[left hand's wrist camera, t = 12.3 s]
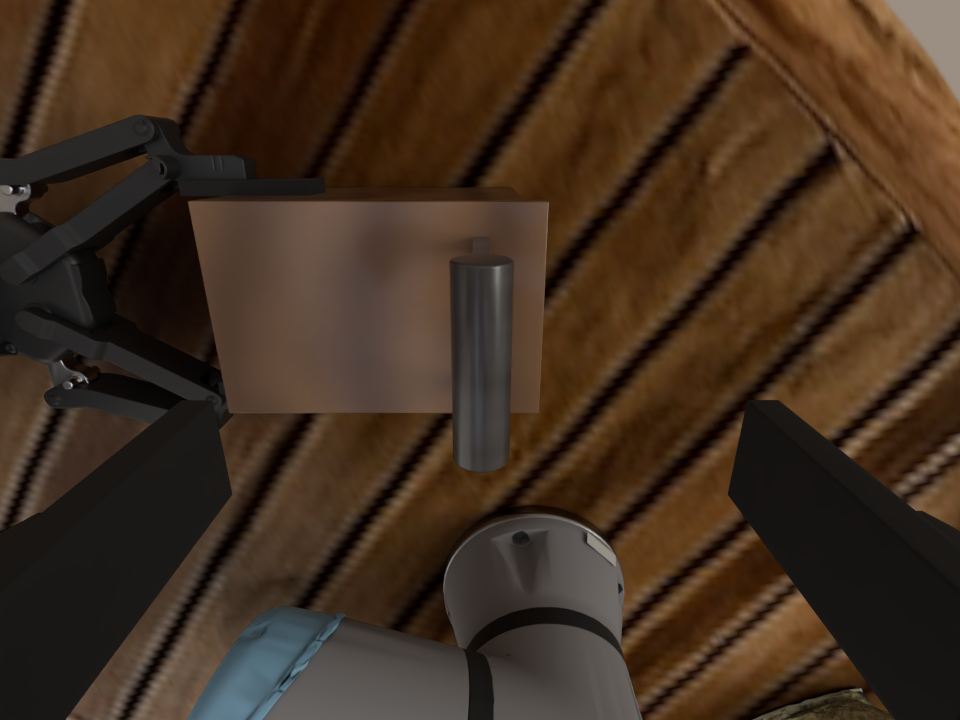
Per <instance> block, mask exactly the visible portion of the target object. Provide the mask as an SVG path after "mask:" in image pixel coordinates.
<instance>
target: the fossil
mask: <svg viewBox="0 0 960 720" xmlns="http://www.w3.org/2000/svg"><path fill="white" fill-rule="evenodd" d="M753 720H894V718H893V717H892V715H891V714H890V713H888V712H885V711H882V710H880V709H877V708H875V707H874V706H873V705H872V704H871V703H870V702H869V701H868V700H867V699H866V697H865V696H864V694H863V691H862V689H861V688H860V689H850V690H843V691H840V692H837V693H832V694H828V695H824V696H821V697H817V698H814V699H809V700H805V701H803V702H802V703H800V704H795V705H789V706H786V707H783V708H780V709H778V710H775V711H772V712H770V713H767V714H764V715H762V716H760V717H758V718H756V719H753Z"/></svg>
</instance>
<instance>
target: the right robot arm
mask: <svg viewBox="0 0 960 720" xmlns="http://www.w3.org/2000/svg"><path fill="white" fill-rule="evenodd" d="M180 137H181V131H180V128H179V126H178V125H177V123H176V122H174V121H173V120H171V119H167V118H159V117H152V116H144V115H135V116H132V117H129V118H126V119H124V120H121V121H118V122H115V123H113V124H110V125H107V126H104V127H102V128H99V129H96V130H93V131H91V132H88V133H85V134H82V135H80V136H77V137H74V138H71V139H69V140H66V141H63V142H60V143H58V144H55V145H52V146H49V147H47V148H44V149H41V150H38V151H36V152H33V153H30V154H27V155H25V156H22V157H19V158H16V159H8V158H0V356H11V355H22V356H26V357H29V358H32V359H34V360H36V361H38V362H41V363H45V364H46V366H47V369H48V372H49V374H50V377H51V379H52V382H53V385H54V388H52V389H50V390H48V391H47V392H46V393H45V395H44V398H45V401H46V402H47V404H48V405H50V406H51V407H53V408H78V407H88V408H92V409H96V410H100V411H104V412H108V413H112V414H116V415H119V416H123V417H127V418H131V419H135V420H139V421H143V422H147V423H151V424H153V423H154V422H155V421H156V420H158V419H159V418H160V417H161V416H163V415H164V414H165V413H166V412H168V411H169V410H170V409H171V408H173V407H174V406H175V405H176V404H178V403H179V402H180V401H181V400H213V404H214V409H215V414H216V419H217V423H218V428H219V430H220V429H221V428H222V427H223V426H224V425H225V423H226V422H227V421H228V420H229V419H230V418H231V417H232V416H233V414H234V413H229V410H228V405H227V400H226V395H225V390H224V384H223V379H222V374H221V371H220V370H218V369H216V368H214V367H212V366H210V365H208V364H206V363H204V362H202V361H200V360H198V359H196V358H194V357H192V356H190V355H188V354H186V353H184V352H182V351H180V350H178V349H176V348H174V347H172V346H170V345H168V344H166V343H164V342H162V341H160V340H158V339H156V338H154V337H152V336H150V335H148V334H146V333H144V332H142V331H140V330H138V329H137V327H136V324H135V323H133V322H132V321H130V320H128V319H126V318H124V317H122V316H119V315H117V314H115V313H113V312H116V311H117V310H116V306H115V302H114V298H113V297H112V295H111V293H110V291H109V289H108V287H107V285H106V268H105V264H104V260H103V258H97V256H96V254H95V252H97V251H98V250H100V249H101V248H102V247H104V246H105V245H107V244H108V243H109V242H111V241H112V240H113V239H114V236H115V235H117V234H118V233H119V232H121V231H122V230H124V229H125V228H126V227H128V226H129V225H131V224H132V223H133V222H135V221H136V220H138V219H139V218H140V217H142V216H143V215H145V214H146V213H147V212H149V211H150V210H152V209H153V208H154V207H156V206H157V205H159V204H160V203H161V202H163V201H164V200H166V199H167V198H168V197H170V196H171V195H173V194H174V193H175V192H177V191H178V190H179V192H180V196H228V195H315V194H320V193H324V192H325V185H324V178H257V174H256V168H255V161H254V159H252V158H249V157H247V156H244V155H195V154H192V153H191V152H189V151H188V150H187V149H186V148H185V146H184V144H183V143H182V141H181V139H180ZM145 153H148V154H149V155H148V156H146V159H151V160H150V161H148V162H147V163H145V164H144V165H143V166H141V167H140V168H139V169H137V170H136V171H135V172H133V173H132V174H131V175H129V176H128V177H127V178H125V179H124V180H122V181H121V182H120V183H118V184H117V185H116V186H114V187H113V188H112V189H110V190H109V191H108V192H106V193H105V194H104V195H102V196H101V197H99V198H98V199H97V200H95V201H94V202H93V203H91V204H90V205H89V206H87V207H86V208H85V209H83V210H82V211H81V212H79V213H78V214H76V215H75V216H74V217H72V218H71V219H70V220H68V221H67V222H65V223H63V224H61V225H58V226H54V225H52V224H51V223H49V222H47V221H46V220H44V219H42V218H41V217H39V216H38V215H36V214H34V213H32V212H29V204H30V203H31V202H32V201H33V200H37V199H40V198H41V197H42V196H43V194H44V193H46V192H47V191H48V186H47V184H52V183H61V182H65V181H69V180H72V179H75V178H78V177H80V176H83V175H86V174H89V173H92V172H94V171H97V170H100V169H103V168H106V167H109V166H111V165H114V164H117V163H120V162H123V161H125V160H128V159H131V158H134V157H137V156H140V155H142V154H145ZM101 331H102V332H101ZM75 353H78V354H80V355H83V356H85V357H87V358H89V359H94V360H106V361H108V362H110V363H112V364H114V365H116V366H119V367H121V368H123V369H125V370H127V371H129V372H131V373H133V374H135V375H137V376H139V377H141V378H144V379H146V380H148V381H150V382H152V383H150V382H146V381H142V380H138V379H135V378H131V377H127V376H123V375H118V374H113V373H100V369H99V368H98V367H97V366H92V367H89V366H85V365H81V364H79V363H78V362H76V360H75V359H74V357H73V355H74V354H75Z"/></svg>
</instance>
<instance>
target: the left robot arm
mask: <svg viewBox="0 0 960 720" xmlns="http://www.w3.org/2000/svg"><path fill="white" fill-rule="evenodd" d="M231 495H232V491H231V486H230V481H229V476H228V472H227V467H226V462H225V457H224V452H223V448H222V443H221V438H220V433H219V428H218V423H217V419H216V414H215V409H214V404H213V400H181V401H180V402H179V403H178V404H176V405H175V406H174V407H173V408H171V409H170V410H169V411H168V412H166V413H165V414H164V415H163V416H161V417H160V418H159V419H158V420H156V421H155V422H154V423H153V424H151V425H150V426H149V427H148V428H146V429H145V430H144V431H143V432H142V433H140V434H139V435H138V436H137V437H135V438H134V439H133V440H132V441H130V442H129V443H128V444H127V445H125V446H124V447H123V448H122V449H120V450H119V451H118V452H117V453H115V454H114V455H113V456H112V457H110V458H109V459H108V460H107V461H106V462H104V463H103V464H102V465H101V466H99V467H98V468H97V469H96V470H94V471H93V472H92V473H91V474H89V475H88V476H87V477H86V478H84V479H83V480H82V481H81V482H79V483H78V484H77V485H76V486H74V487H73V488H72V489H71V490H70V491H68V492H67V493H66V494H65V495H63V496H62V497H61V498H60V499H58V500H57V501H56V502H55V503H53V504H52V505H51V506H50V507H48V508H47V509H46V510H45V511H43V512H42V513H37V514H35V515H33V516H31V517H30V518H28V519H26V520H24V521H22V522H20V523H18V524H16V525H15V526H13V527H11V528H9V529H7V530H5V531H4V532H2V533H1V534H0V720H66V718H67V717H68V715H69V714H70V713H71V711H72V710H73V709H74V707H75V706H76V705H77V703H78V702H79V701H80V699H81V698H82V697H83V695H84V694H85V693H86V691H87V690H88V688H89V687H90V686H91V684H92V683H93V682H94V680H95V679H96V678H97V676H98V675H99V674H100V672H101V671H102V670H103V668H104V667H105V666H106V664H107V663H108V661H109V660H110V659H111V657H112V656H113V655H114V653H115V652H116V651H117V649H118V648H119V647H120V645H121V644H122V643H123V641H124V640H125V639H126V637H127V636H128V634H129V633H130V632H131V630H132V629H133V628H134V626H135V625H136V624H137V622H138V621H139V620H140V618H141V617H142V616H143V614H144V613H145V611H146V610H147V609H148V607H149V606H150V605H151V603H152V602H153V601H154V599H155V598H156V597H157V595H158V594H159V593H160V591H161V590H162V589H163V587H164V586H165V584H166V583H167V582H168V580H169V579H170V578H171V576H172V575H173V574H174V572H175V571H176V570H177V568H178V567H179V566H180V564H181V563H182V562H183V560H184V559H185V557H186V556H187V555H188V553H189V552H190V551H191V549H192V548H193V547H194V545H195V544H196V543H197V541H198V540H199V539H200V537H201V536H202V535H203V533H204V532H205V530H206V529H207V528H208V526H209V525H210V524H211V522H212V521H213V520H214V518H215V517H216V516H217V514H218V513H219V512H220V510H221V509H222V508H223V506H224V505H225V503H226V502H227V501H228V499H229V498H230V497H231ZM728 495H729V497H730V498H731V499H732V501H733V502H734V503H735V505H736V506H737V508H738V509H739V510H740V512H741V513H742V514H743V516H744V517H745V518H746V520H747V521H748V522H749V524H750V525H751V526H752V528H753V529H754V530H755V532H756V533H757V535H758V536H759V537H760V539H761V540H762V541H763V543H764V544H765V545H766V547H767V548H768V549H769V551H770V552H771V553H772V555H773V556H774V557H775V559H776V560H777V562H778V563H779V564H780V566H781V567H782V568H783V570H784V571H785V572H786V574H787V575H788V576H789V578H790V579H791V580H792V582H793V583H794V584H795V586H796V587H797V589H798V590H799V591H800V593H801V594H802V595H803V597H804V598H805V599H806V601H807V602H808V603H809V605H810V606H811V607H812V609H813V610H814V611H815V613H816V614H817V616H818V617H819V618H820V620H821V621H822V622H823V624H824V625H825V626H826V628H827V629H828V630H829V632H830V633H831V634H832V636H833V637H834V639H835V640H836V641H837V643H838V644H839V645H840V647H841V648H842V649H843V651H844V652H845V653H846V655H847V656H848V657H849V659H850V660H851V661H852V663H853V664H854V666H855V667H856V668H857V670H858V671H859V672H860V674H861V675H862V676H863V678H864V679H865V680H866V682H867V683H868V684H869V686H870V687H871V688H872V690H873V691H874V693H875V694H876V695H877V697H878V698H879V699H880V701H881V702H882V703H883V705H884V706H885V707H886V709H887V710H888V711H889V713H890V714H891V715H892V717H893V718H894V720H960V531H958V530H957V529H955V528H953V527H952V526H950V525H948V524H946V523H944V522H942V521H940V520H938V519H936V518H935V517H933V516H931V515H929V514H927V513H925V512H923V511H915V510H914V509H913V508H912V507H910V506H909V505H908V504H907V503H905V502H904V501H903V500H902V499H900V498H899V497H898V496H897V495H895V494H894V493H893V492H892V491H890V490H889V489H888V488H887V487H886V486H884V485H883V484H882V483H881V482H879V481H878V480H877V479H876V478H874V477H873V476H872V475H871V474H869V473H868V472H867V471H866V470H864V469H863V468H862V467H861V466H859V465H858V464H857V463H856V462H854V461H853V460H852V459H851V458H850V457H848V456H847V455H846V454H845V453H843V452H842V451H841V450H840V449H838V448H837V447H836V446H835V445H833V444H832V443H831V442H830V441H828V440H827V439H826V438H825V437H823V436H822V435H821V434H820V433H818V432H817V431H816V430H815V429H814V428H812V427H811V426H810V425H809V424H807V423H806V422H805V421H804V420H802V419H801V418H800V417H799V416H797V415H796V414H795V413H794V412H792V411H791V410H790V409H789V408H787V407H786V406H785V405H784V404H782V403H781V402H780V401H779V400H747V404H746V409H745V414H744V419H743V423H742V428H741V433H740V438H739V443H738V448H737V452H736V457H735V462H734V467H733V472H732V476H731V481H730V486H729V491H728ZM443 591H444V601H445V607H446V611H447V614H448V617H449V619H450V622H451V624H452V626H453V629H454V633H455V636H456V640H457V643H458V647H457V646H453V645H449V644H445V643H441V642H437V641H434V640H430V639H426V638H422V637H418V636H414V635H410V634H406V633H402V632H399V631H395V630H391V629H387V628H383V627H379V626H375V625H371V624H368V623H364V622H360V621H356V620H352V619H348V618H345V616H346V614H344V613H340V612H339V613H337V614H335V615H332V614H327V613H322V612H317V611H312V610H307V609H302V608H297V607H292V606H280V607H275V608H272V609H269V610H267V611H265V612H264V613H262V614H261V615H259V616H258V617H257V618H256V619H254V620H253V621H252V622H251V623H250V624H249V625H248V627H247V628H246V629H245V630H244V631H243V632H242V634H241V635H240V636H239V638H238V639H237V640H236V642H235V643H234V644H233V646H232V647H231V649H230V650H229V652H228V653H227V655H226V656H225V658H224V659H223V661H222V662H221V664H220V665H219V667H218V668H217V670H216V672H215V673H214V675H213V676H212V678H211V679H210V681H209V683H208V684H207V686H206V688H205V689H204V691H203V693H202V694H201V696H200V698H199V700H198V701H197V703H196V705H195V706H194V708H193V710H192V711H191V713H190V715H189V717H188V718H187V720H642V717H641V714H640V710H639V707H638V704H637V700H636V697H635V694H634V690H633V687H632V684H631V680H630V677H629V673H628V670H627V667H626V664H625V660H624V657H623V653H622V649H621V632H622V607H623V602H624V583H623V575H622V570H621V567H620V564H619V561H618V558H617V555H616V552H615V550H614V548H613V546H612V544H611V543H610V541H609V540H608V538H607V537H606V536H605V535H604V534H603V533H602V532H601V531H600V530H599V529H598V528H597V527H596V526H594V525H593V524H592V523H590V522H589V521H587V520H586V519H584V518H582V517H580V516H578V515H575V514H573V513H570V512H567V511H564V510H560V509H555V508H548V507H522V508H515V509H510V510H506V511H503V512H499V513H497V514H494V515H492V516H489V517H487V518H485V519H483V520H482V521H480V522H478V523H477V524H475V525H474V526H473V527H471V528H470V529H469V530H468V531H467V532H465V533H464V534H463V535H462V536H461V538H460V539H459V540H458V541H457V542H456V544H455V545H454V547H453V549H452V550H451V552H450V554H449V557H448V559H447V563H446V566H445V573H444V588H443Z"/></svg>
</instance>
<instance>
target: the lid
mask: <svg viewBox="0 0 960 720" xmlns="http://www.w3.org/2000/svg"><path fill="white" fill-rule="evenodd" d="M188 205H189V210H190V215H191V220H192V225H193V231H194V236H195V241H196V246H197V251H198V256H199V261H200V266H201V272H202V277H203V282H204V287H205V292H206V297H207V302H208V307H209V313H210V318H211V323H212V328H213V333H214V338H215V343H216V349H217V354H218V359H219V364H220V369H221V374H222V379H223V384H224V390H225V395H226V400H227V405H228V410H229V413H452V420H453V458H454V461H455V463H456V464H457V465H458V466H460V467H461V468H463V469H465V470H468V471H472V472H490V471H494V470H497V469H500V468H501V467H503V466H504V465H505V464H506V463H507V462H508V460H509V443H510V413H539V398H540V377H541V356H542V335H543V314H544V293H545V272H546V251H547V230H548V209H549V202H548V201H546V200H361V199H200V200H192V201H188Z"/></svg>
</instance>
